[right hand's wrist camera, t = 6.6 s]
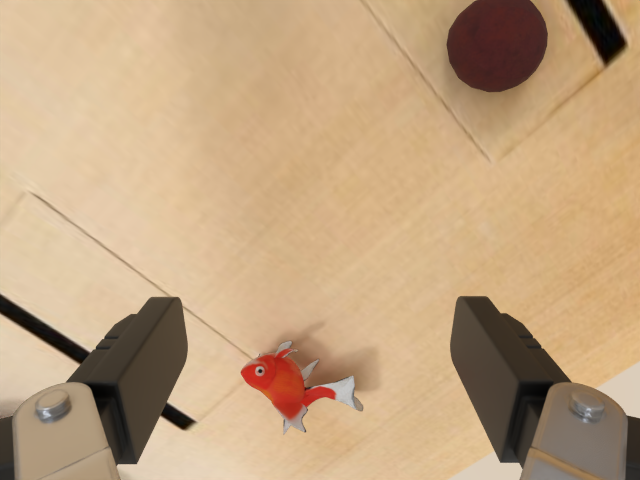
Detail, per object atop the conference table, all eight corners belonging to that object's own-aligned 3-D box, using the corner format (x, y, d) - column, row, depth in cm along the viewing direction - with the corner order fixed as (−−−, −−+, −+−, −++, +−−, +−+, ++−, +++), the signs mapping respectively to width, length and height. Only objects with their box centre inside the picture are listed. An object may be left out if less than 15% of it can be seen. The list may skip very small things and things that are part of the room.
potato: (498, 101, 38) (536, 105, 31) (423, 74, 37) (446, 72, 30) (537, 17, 35) (587, 2, 29) (457, -14, 34) (490, -37, 28)
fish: (302, 308, 41) (300, 411, 35) (379, 351, 51) (388, 437, 45) (230, 334, 46) (218, 428, 40) (313, 369, 56) (313, 448, 50)
